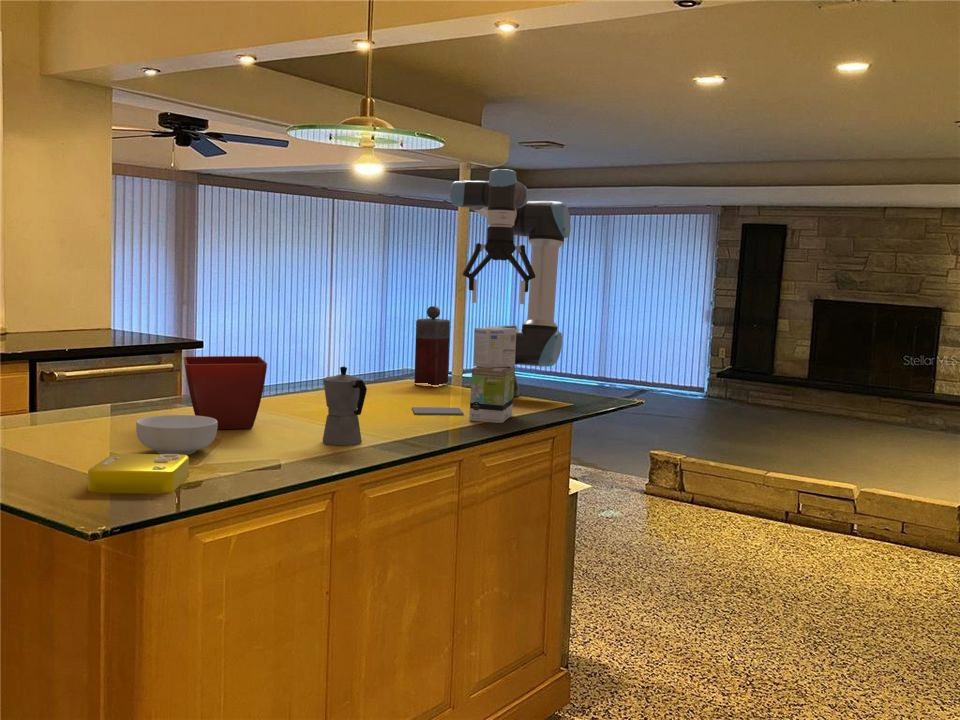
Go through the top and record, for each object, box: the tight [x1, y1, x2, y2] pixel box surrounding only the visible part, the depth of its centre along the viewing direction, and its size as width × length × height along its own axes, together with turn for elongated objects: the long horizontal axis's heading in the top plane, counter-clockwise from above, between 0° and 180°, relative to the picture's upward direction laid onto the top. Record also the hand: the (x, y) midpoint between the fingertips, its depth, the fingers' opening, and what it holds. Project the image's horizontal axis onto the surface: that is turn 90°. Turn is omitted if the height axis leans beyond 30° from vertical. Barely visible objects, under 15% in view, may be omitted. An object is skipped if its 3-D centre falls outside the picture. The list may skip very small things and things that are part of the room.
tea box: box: [468, 365, 516, 424], centre depth 248 cm, size 15×10×15 cm
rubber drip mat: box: [411, 406, 464, 416], centre depth 255 cm, size 10×14×1 cm
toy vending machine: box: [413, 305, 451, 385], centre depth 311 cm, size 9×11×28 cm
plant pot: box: [183, 355, 268, 430], centre depth 222 cm, size 19×19×17 cm
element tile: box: [87, 453, 190, 495], centre depth 164 cm, size 15×15×5 cm
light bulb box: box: [472, 327, 516, 368], centre depth 247 cm, size 11×7×11 cm, turn 133°
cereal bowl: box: [135, 414, 218, 456], centre depth 191 cm, size 17×17×7 cm
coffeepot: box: [322, 366, 368, 447], centre depth 206 cm, size 15×9×18 cm, turn 43°
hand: (498, 303), depth 246 cm, fingers open, 13 cm apart
